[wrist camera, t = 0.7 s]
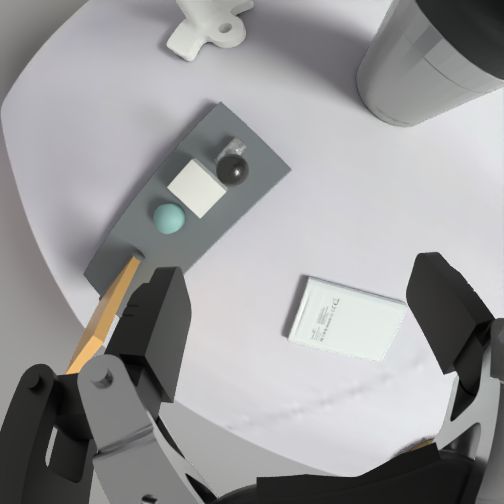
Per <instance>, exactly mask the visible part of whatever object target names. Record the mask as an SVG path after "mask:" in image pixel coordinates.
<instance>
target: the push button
mask: <svg viewBox="0 0 504 504" xmlns="http://www.w3.org/2000/svg"><path fill="white" fill-rule="evenodd" d="M153 220H154V224H155V227H156V228H157V229H158V230H159V231H160V232H161V233H164V234H171V233H173V232H176V231H178V230H180V229H181V228H182V227H183V226H184V224H185V221H186V214H185V211H184V209H183V208H182V207H181V206H180V205H179V204H176V203H169V204H164V205H161V206H159V207H158V208H157V209H156V211H155V213H154V217H153Z"/></svg>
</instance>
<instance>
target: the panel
mask: <svg viewBox="0 0 504 504" xmlns="http://www.w3.org/2000/svg"><path fill="white" fill-rule="evenodd" d="M235 137H238V138H239V139H240V140H241V141H242V142H243V143H244V144H245V145H246V146H247V147H248V149H246V150H245V151H244V152H243V153H242V154H241V156H242V157H244V158H245V159H246V161H247V162H248V165H249V175H248V177H247V179H246V180H245V182H243V183H242V184H241V185H239V186H235V187H229V186H226V185H225V186H226V187H227V188H228V190H227V192H226V193H225V194H224V195H223V196H222V197H221V198H220V199H219V200H218V201H217V202H216V203H215V204H214V205H213V206H212V207H211V208H210V209H209V210H208V211H207V212H206V213H205V214H204V215H203V216H202V217H201V218H199V217H198V216H197V215H196V214H195V213H194V212H193V211H192V210H190V209H189V208H188V207H187V206H186V205H185V204H184V203H183V202H182V201H181V200H180V199H179V198H178V197H177V196H175V195H174V194H173V193H172V192H171V191H170V190H169V189H168V188H167V187H168V186H169V184H170V183H171V182H172V181H173V180H174V179H175V178H176V176H177V175H178V174H179V173H180V172H181V171H182V170H183V169H184V167H185V166H186V165H187V164H188V163H189V162H190V161H191V160H192V159H195V158H196V159H198V160H199V161H200V162H201V163H202V164H203V165H204V166H205V167H206V168H207V169H208V170H209V171H210V172H211V173H212V174H214V175H215V176H216V172H215V168H216V164H217V163H216V161H215V160H214V158H215V157H216V156H217V155H218V154H219V153H220V152H221V151H222V150H223V149H224V148H225V147H226V146H227V145H228V144H229V143H230V142H231V141H232V140H233V139H234V138H235ZM290 171H292V169H291V168H290V167H289V166H288V165H287V164H286V163H285V162H284V161H283V160H282V159H281V158H280V157H279V156H278V155H277V154H276V153H275V152H274V151H273V150H272V149H271V148H270V147H269V146H268V145H267V144H266V143H265V142H264V141H263V140H262V139H261V138H260V137H259V136H258V135H257V134H256V133H255V132H254V131H252V130H251V129H250V128H249V127H248V126H247V125H246V124H245V123H244V122H243V121H242V120H241V119H240V118H239V117H237V116H236V115H235V114H234V113H233V112H232V111H231V110H230V109H229V108H227V107H226V106H225V105H224V104H223V103H222V102H219V103H218V104H217V105H216V106H215V107H214V108H213V109H212V110H211V111H210V112H209V113H208V114H207V115H206V116H205V117H204V118H203V119H202V120H201V121H200V122H199V124H198V125H197V126H196V127H195V128H194V129H193V130H192V131H191V132H190V133H189V134H188V135H187V136H186V137H185V138H184V140H183V141H182V142H181V143H180V144H179V145H178V146H177V147H176V148H175V150H174V151H173V152H172V153H171V154H170V155H169V156H168V158H167V159H166V160H165V161H164V162H163V163H162V165H161V166H160V167H159V168H158V169H157V171H156V172H155V173H154V174H153V175H152V177H151V178H150V179H149V180H148V182H147V183H146V184H145V185H144V187H143V188H142V189H141V191H140V192H139V193H138V194H137V196H136V197H135V198H134V200H133V201H132V202H131V204H130V205H129V206H128V208H127V209H126V210H125V212H124V213H123V215H122V216H121V217H120V219H119V220H118V222H117V223H116V224H115V226H114V227H113V229H112V230H111V232H110V233H109V235H108V236H107V238H106V239H105V241H104V242H103V244H102V245H101V247H100V248H99V250H98V251H97V253H96V254H95V256H94V258H93V259H92V261H91V262H90V264H89V266H88V267H87V269H86V271H85V272H84V274H83V275H84V276H85V277H86V278H87V280H88V281H89V282H90V284H91V285H92V286H93V287H94V289H95V290H96V291H97V292H98V293H99V295H100V296H101V294H102V293H103V291H104V290H105V289H106V287H107V286H108V284H109V283H110V282H111V280H112V279H113V277H114V276H115V275H116V273H117V272H118V271H119V269H120V268H121V267H122V265H123V264H124V263H125V261H126V260H127V259H128V257H129V256H130V255H131V253H132V252H133V251H134V250H139V251H141V252H142V253H143V254H144V256H145V260H144V261H143V262H142V263H141V264H140V266H139V267H138V268H137V269H136V272H135V274H134V276H133V278H132V280H131V282H130V284H129V286H128V288H127V290H126V292H125V295H124V297H123V299H122V301H121V303H120V305H119V308H118V310H117V312H116V315H117V316H118V317H119V318H120V317H122V313H123V311H124V309H125V307H127V303H128V301H129V299H130V297H131V295H132V293H133V292H134V291H135V290H136V289H137V288H138V287H139V286H140V285H141V284H142V283H149V281H150V279H151V277H152V275H153V273H154V271H155V269H156V268H157V267H175V266H179V267H180V268H181V270H182V272H183V275H184V274H185V273H186V272H187V271H188V270H189V269H190V268H191V267H192V266H193V265H194V264H195V263H196V262H197V261H198V260H199V259H200V258H201V257H202V256H203V255H204V254H205V253H206V252H207V251H208V250H209V249H210V248H211V247H212V246H213V245H214V244H215V243H216V242H217V241H218V240H219V239H220V238H221V237H222V236H223V235H224V234H225V233H226V232H227V231H228V230H229V229H230V228H231V227H232V226H233V225H235V224H236V223H237V222H238V221H239V220H240V219H241V218H242V217H243V216H244V215H245V214H246V213H247V212H248V211H249V210H250V209H251V208H252V207H253V206H254V205H255V204H256V203H257V202H258V201H259V200H261V199H262V198H263V197H264V196H265V195H266V194H267V193H268V192H269V191H270V190H271V189H272V188H273V187H274V186H275V185H276V184H278V183H279V182H280V181H281V180H282V179H283V178H284V177H285V176H286V175H287V174H288V173H289V172H290ZM216 177H217V176H216ZM169 203H176V204H179V205H180V206H181V207H182V208H183V209H184V211H185V214H186V221H185V224H184V226H183V227H182V228H181V229H180V230H178V231H176V232H173V233H171V234H164V233H161V232H160V231H159V230H158V229H157V228H156V227H155V224H154V220H153V217H154V213H155V211H156V209H157V208H158V207H159V206H161V205H164V204H169Z"/></svg>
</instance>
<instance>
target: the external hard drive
mask: <svg viewBox="0 0 504 504" xmlns="http://www.w3.org/2000/svg"><path fill="white" fill-rule="evenodd" d="M407 307H408V306H407V304H406V303H405V302H401V301H397V300H393V299H390V298H386V297H382V296H378V295H375V294H371V293H367V292H364V291H360V290H356V289H353V288H349V287H345V286H342V285H338V284H334V283H331V282H327V281H324V280H320V279H316V278H313V277H308V280H307V283H306V286H305V289H304V292H303V295H302V298H301V301H300V305H299V308H298V311H297V314H296V316H295V318H294V321H293V324H292V327H291V329H290V332H289V335H288V338H287V341H289V342H293V343H297V344H300V345H304V346H308V347H312V348H316V349H320V350H324V351H329V352H333V353H337V354H342V355H346V356H351V357H355V358H360V359H365V360H371V361H376V362H380V361H381V360H382V359H383V357H384V355H385V353H386V351H387V349H388V347H389V345H390V343H391V342H392V340H393V338H394V336H395V334H396V332H397V330H398V328H399V325H400V324H401V321H402V319H403V317H404V315H405V313H406V310H407Z"/></svg>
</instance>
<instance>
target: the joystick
mask: <svg viewBox="0 0 504 504" xmlns="http://www.w3.org/2000/svg"><path fill="white" fill-rule="evenodd" d="M175 1H176V3H177V4H178V6H179V7H180V9H181V10H182V12H183V13H184V15H185V16H186V18H185V19H184V20H183V21H182V22H181V23H180V24H179V26H178V27H177V28H176V29H175V31H174V32H173V34H172V35H171V37H170V38H169V40H168V42H167V47H169V48H170V49H171V50H172V51H173V52H174V53H175V54H177V55H178V56H181V57H182V58H184V59H185V60H186V61H192V60H194V59H195V57H196V55H197V53H198V51H199V49H200V48H201V46H202V45H203V44H204V43H206V42H213V43H214V44H215V45H216V46H218V47H221V48H231V47H235V46H237V45H239V44H240V43H241V42H242V41H243V40H244V39H245V37H246V29H245V27H244V24H243V22H242V20H241V19H240V18H238V17H236V15H237V14H240V13H242V12H244V11H246V10H249V9H252V8H253V7H254V4H253V1H252V0H175Z"/></svg>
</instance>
